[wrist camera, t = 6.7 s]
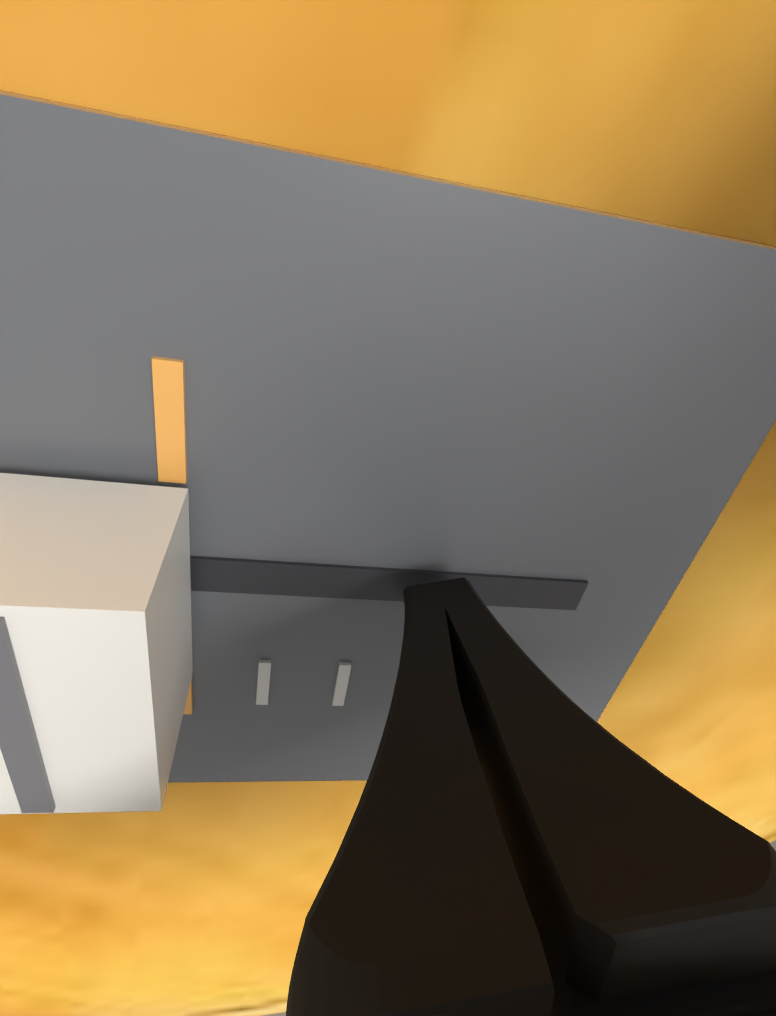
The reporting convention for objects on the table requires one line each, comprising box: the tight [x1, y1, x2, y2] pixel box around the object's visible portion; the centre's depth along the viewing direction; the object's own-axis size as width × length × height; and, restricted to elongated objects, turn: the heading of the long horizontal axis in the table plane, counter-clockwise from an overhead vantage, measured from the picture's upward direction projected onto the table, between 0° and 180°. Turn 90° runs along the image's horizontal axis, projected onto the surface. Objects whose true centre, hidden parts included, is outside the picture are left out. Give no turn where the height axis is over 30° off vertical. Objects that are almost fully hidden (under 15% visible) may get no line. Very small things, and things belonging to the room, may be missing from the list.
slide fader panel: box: [0, 90, 776, 782], centre depth 14 cm, size 16×16×3 cm
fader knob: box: [0, 473, 193, 814], centre depth 10 cm, size 4×5×4 cm
